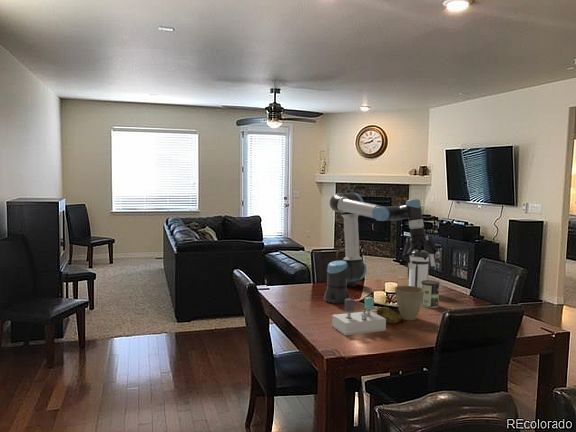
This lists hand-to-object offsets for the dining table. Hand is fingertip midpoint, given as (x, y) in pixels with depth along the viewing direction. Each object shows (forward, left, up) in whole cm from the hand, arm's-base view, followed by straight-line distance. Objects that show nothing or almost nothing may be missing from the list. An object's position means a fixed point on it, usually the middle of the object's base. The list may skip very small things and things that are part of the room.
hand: (422, 267), depth 256 cm
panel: (+7, -42, -27) cm, 50 cm away
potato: (+3, -22, -27) cm, 35 cm away
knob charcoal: (+7, -47, -22) cm, 53 cm away
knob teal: (+7, -36, -22) cm, 43 cm away
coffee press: (-50, +33, -27) cm, 66 cm away
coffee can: (-18, +19, -27) cm, 38 cm away
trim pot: (+12, -42, -21) cm, 48 cm away
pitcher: (-80, -1, -27) cm, 84 cm away
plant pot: (0, -8, -27) cm, 28 cm away
